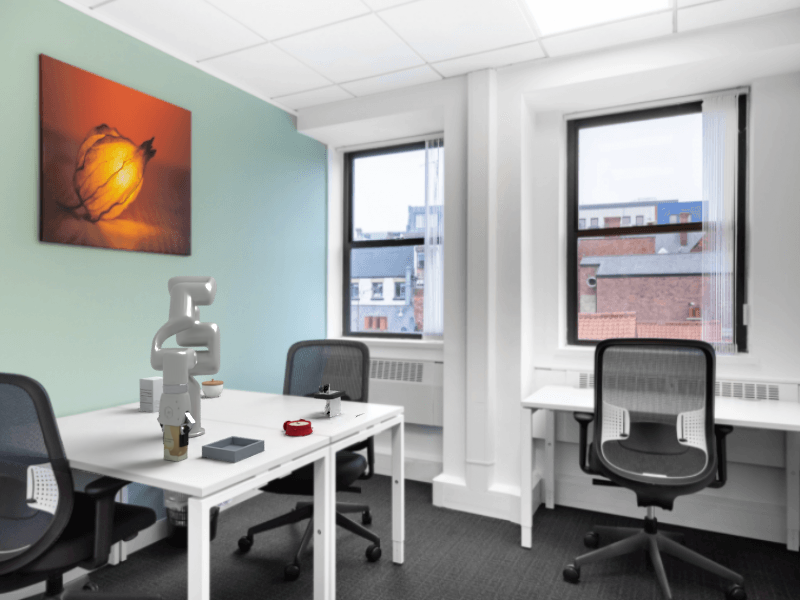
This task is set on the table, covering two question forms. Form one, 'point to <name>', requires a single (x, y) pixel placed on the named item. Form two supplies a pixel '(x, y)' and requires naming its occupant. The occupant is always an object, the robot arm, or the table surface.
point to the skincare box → (173, 444)
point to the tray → (233, 448)
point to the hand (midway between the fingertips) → (175, 444)
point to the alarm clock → (297, 427)
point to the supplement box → (150, 393)
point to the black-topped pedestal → (331, 399)
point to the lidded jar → (212, 388)
